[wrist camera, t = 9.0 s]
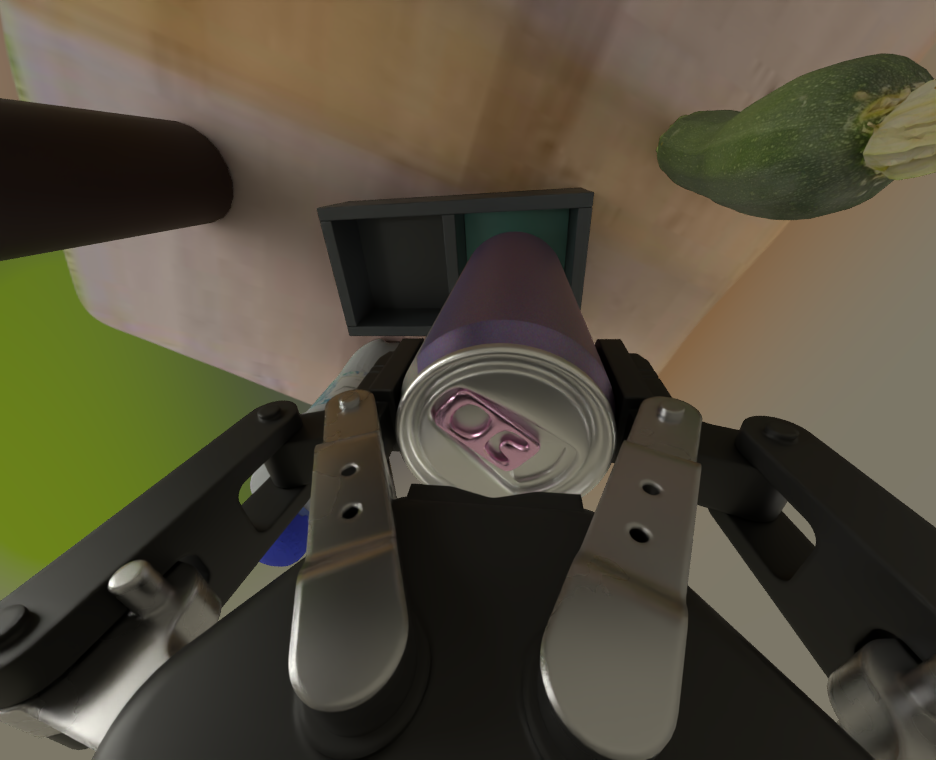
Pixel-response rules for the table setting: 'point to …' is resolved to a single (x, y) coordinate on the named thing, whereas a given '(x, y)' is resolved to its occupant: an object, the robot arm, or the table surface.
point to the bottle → (295, 535)
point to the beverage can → (508, 382)
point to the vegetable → (811, 141)
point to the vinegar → (101, 177)
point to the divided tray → (438, 249)
